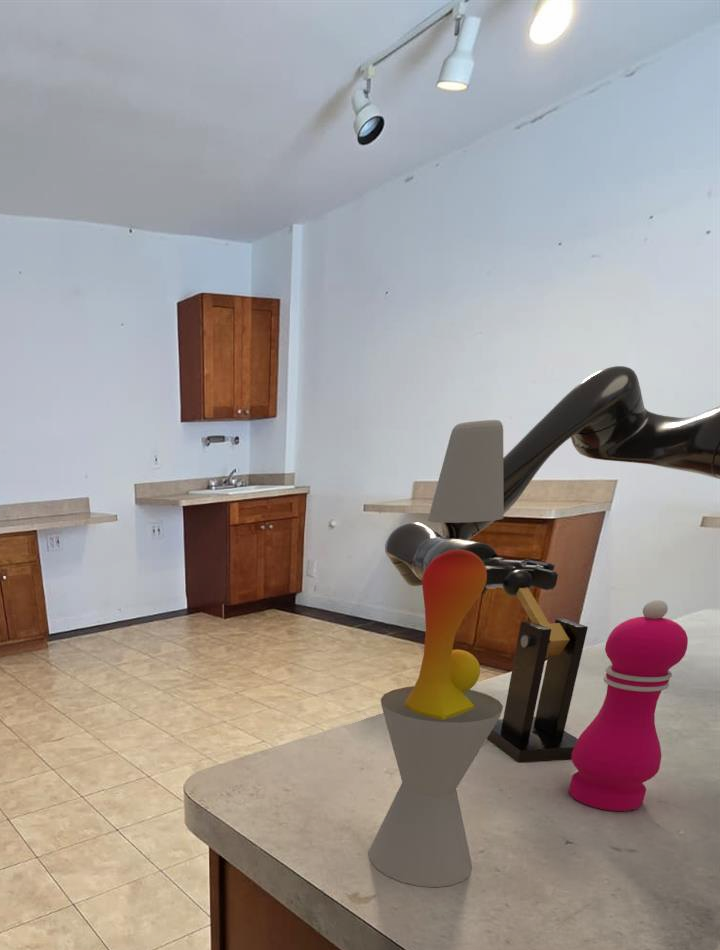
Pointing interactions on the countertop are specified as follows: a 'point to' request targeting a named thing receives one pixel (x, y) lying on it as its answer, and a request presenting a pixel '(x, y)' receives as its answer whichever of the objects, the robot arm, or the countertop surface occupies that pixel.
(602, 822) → the countertop surface
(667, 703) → the countertop surface
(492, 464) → the lava lamp
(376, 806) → the countertop surface
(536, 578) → the robot arm
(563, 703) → the switch bracket
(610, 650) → the pepper mill
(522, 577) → the switch lever
